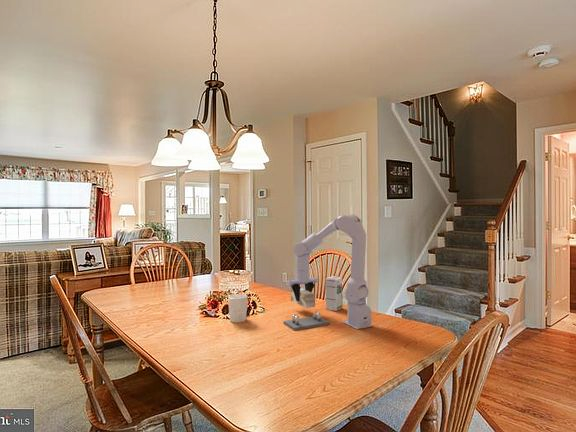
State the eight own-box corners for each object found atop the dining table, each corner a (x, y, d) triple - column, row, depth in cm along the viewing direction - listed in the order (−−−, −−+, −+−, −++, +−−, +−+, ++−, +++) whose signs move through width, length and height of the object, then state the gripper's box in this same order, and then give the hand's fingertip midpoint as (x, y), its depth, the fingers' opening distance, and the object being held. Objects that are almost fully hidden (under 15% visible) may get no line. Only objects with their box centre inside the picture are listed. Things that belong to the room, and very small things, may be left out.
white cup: (224, 321, 150) (224, 297, 149) (235, 316, 157) (235, 293, 156) (240, 324, 146) (240, 299, 146) (251, 318, 153) (251, 295, 153)
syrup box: (336, 311, 164) (336, 279, 163) (325, 309, 167) (325, 277, 167) (342, 308, 168) (342, 277, 168) (331, 306, 172) (331, 275, 172)
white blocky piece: (315, 306, 156) (315, 294, 156) (306, 308, 154) (306, 295, 154) (299, 299, 169) (299, 287, 169) (290, 300, 167) (290, 288, 166)
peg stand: (317, 318, 154) (317, 308, 154) (329, 324, 146) (329, 314, 146) (283, 323, 147) (283, 313, 147) (294, 330, 139) (294, 320, 139)
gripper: (312, 267, 168) (312, 296, 168) (283, 269, 161) (283, 300, 162) (320, 269, 162) (320, 299, 162) (291, 272, 155) (291, 303, 155)
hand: (302, 300), depth 161 cm, fingers closed on white blocky piece, 4 cm apart
